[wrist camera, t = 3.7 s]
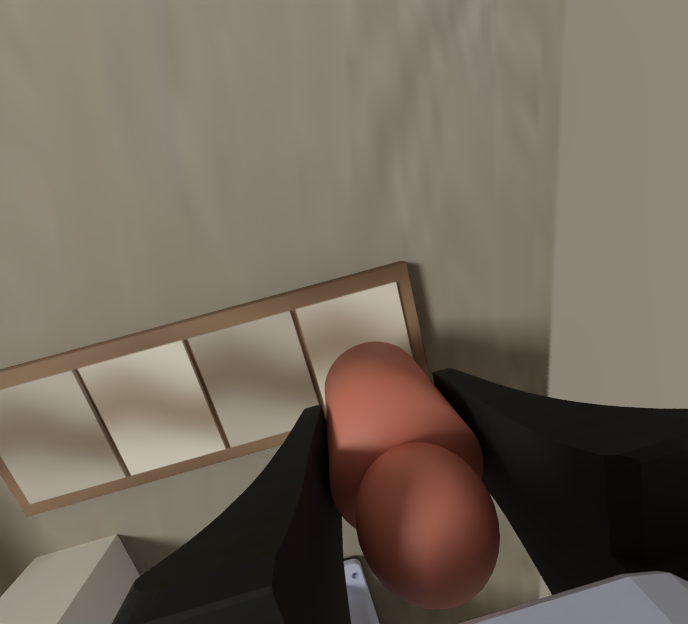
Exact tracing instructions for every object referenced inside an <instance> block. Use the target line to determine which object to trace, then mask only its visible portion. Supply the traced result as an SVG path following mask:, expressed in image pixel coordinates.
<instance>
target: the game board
mask: <svg viewBox="0 0 688 624" xmlns="http://www.w3.org/2000/svg"><path fill="white" fill-rule="evenodd" d="M374 341H378V342H386V343H390V344H393V345H396V346H398V347H400V348H401V349H403V350H404V351H406V352H407V353H408V354H409V355H410V356H411V357H412V358H413V359H414V361H415V362H416V363H417V364H418V366H419V367H420V368H421V369H422V371H423V372H424V373H425V374H426V375H427V377H428V378H429V379H430V375H429V370H428V365H427V360H426V356H425V351H424V346H423V341H422V337H421V332H420V327H419V322H418V317H417V313H416V308H415V303H414V298H413V293H412V289H411V284H410V279H409V274H408V270H407V265H406V262H402V261H399V262H396V263H392V264H388V265H385V266H381V267H377V268H373V269H370V270H366V271H362V272H359V273H355V274H351V275H348V276H344V277H340V278H337V279H333V280H329V281H325V282H322V283H318V284H314V285H311V286H307V287H303V288H300V289H296V290H292V291H289V292H285V293H281V294H277V295H274V296H270V297H266V298H263V299H259V300H255V301H252V302H248V303H244V304H241V305H237V306H233V307H229V308H226V309H222V310H218V311H215V312H211V313H207V314H204V315H200V316H196V317H192V318H189V319H185V320H181V321H178V322H174V323H170V324H167V325H163V326H159V327H156V328H152V329H148V330H144V331H141V332H137V333H133V334H130V335H126V336H122V337H119V338H115V339H111V340H108V341H104V342H100V343H96V344H93V345H89V346H85V347H82V348H78V349H74V350H71V351H67V352H63V353H60V354H56V355H52V356H48V357H45V358H41V359H37V360H34V361H30V362H26V363H23V364H19V365H15V366H12V367H8V368H4V369H0V475H1V476H2V478H3V480H4V481H5V483H6V484H7V486H8V488H9V489H10V491H11V492H12V494H13V496H14V497H15V499H16V500H17V502H18V504H19V505H20V507H21V508H22V510H23V512H24V513H25V515H26V516H27V517H28V516H31V515H35V514H38V513H42V512H46V511H49V510H53V509H56V508H60V507H63V506H67V505H70V504H74V503H77V502H81V501H84V500H88V499H91V498H95V497H99V496H102V495H106V494H109V493H113V492H116V491H120V490H123V489H127V488H130V487H134V486H137V485H141V484H145V483H148V482H152V481H155V480H159V479H162V478H166V477H169V476H173V475H176V474H180V473H183V472H187V471H190V470H194V469H198V468H201V467H205V466H208V465H212V464H215V463H219V462H222V461H226V460H229V459H233V458H236V457H240V456H244V455H247V454H251V453H254V452H258V451H261V450H265V449H268V448H272V447H275V446H279V445H282V444H283V443H284V441H285V440H286V438H287V436H288V435H289V433H290V432H291V430H292V428H293V427H294V425H295V423H296V422H297V420H298V418H299V417H300V415H301V413H302V412H303V410H304V409H305V408H308V407H312V406H315V405H319V404H321V405H322V408H323V411H324V414H325V418H326V406H325V381H326V377H327V374H328V371H329V369H330V368H331V366H332V364H333V363H334V361H335V360H336V359H337V358H338V357H339V356H340V355H341V354H342V353H344V352H345V351H346V350H348V349H350V348H351V347H354V346H356V345H358V344H361V343H366V342H374Z"/></svg>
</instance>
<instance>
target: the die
mask: <svg viewBox="0 0 688 624" xmlns="http://www.w3.org/2000/svg"><path fill="white" fill-rule="evenodd" d="M138 577H140V575H139V573H138V572H137V570H136V568H135V566H134V564H133V562H132V561H131V559H130V557H129V555H128V553H127V552H126V550H125V548H124V546H123V544H122V542H121V541H120V539H119V537H118V535H117V534H116V535H113V536H109V537H106V538H102V539H99V540H95V541H92V542H88V543H85V544H81V545H78V546H74V547H71V548H67V549H64V550H60V551H57V552H53V553H50V554H46V555H43V556H39V557H36V558H35V559H34V560H33V561H32V562H31V563H30V564H29V565H28V567H27V568H26V569H25V570H24V571H23V572H22V573H21V574H20V576H19V577H18V578H17V579H16V580H15V581H14V582H13V584H12V585H11V586H10V587H9V588H8V589H7V590H6V592H5V593H4V594H3V595H2V596H1V597H0V624H112V622H113V620H114V618H115V617H116V615H117V613H118V611H119V609H120V607H121V605H122V603H123V602H124V600H125V598H126V596H127V594H128V592H129V590H130V588H131V587H132V585H133V583H134V581H135V580H136V579H137V578H138Z"/></svg>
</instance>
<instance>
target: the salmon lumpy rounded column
mask: <svg viewBox="0 0 688 624" xmlns="http://www.w3.org/2000/svg"><path fill="white" fill-rule="evenodd" d="M325 406H326V423H327V440H328V457H329V473H330V489H331V494H332V498H333V501H334V503H335V506H336V507H337V509H338V511H339V512H340V514H341V515H342V516H343V518H344V519H345V520H346V521H347V522H348V523H349V524H350V525H352V526H353V527H354V528H356V530H357V535H358V540H359V544H360V547H361V549H362V552H363V555H364V557H365V559H366V561H367V563H368V565H369V566H370V568H371V570H372V572H373V573H374V574H375V576H376V577H377V578H378V579H379V581H380V582H381V583H382V584H383V585H384V586H385V587H386V588H387V589H388V590H389V591H390V592H392V593H393V594H394V595H395V596H397V597H398V598H400V599H402V600H403V601H405V602H407V603H409V604H411V605H414V606H417V607H420V608H423V609H428V610H445V609H451V608H455V607H458V606H460V605H462V604H464V603H466V602H468V601H469V600H471V599H472V598H473V597H475V596H476V595H477V594H478V593H479V592H480V591H481V590H482V589H483V588H484V586H485V585H486V584H487V582H488V580H489V578H490V576H491V575H492V573H493V570H494V568H495V565H496V561H497V557H498V553H499V541H500V533H499V522H498V518H497V514H496V509H495V506H494V503H493V501H492V498H491V496H490V494H489V491H488V490H487V488H486V486H485V484H484V483H483V481H482V475H483V465H484V464H483V455H482V451H481V447H480V445H479V442H478V440H477V438H476V436H475V435H474V433H473V432H472V430H471V429H470V428H469V427H468V426H467V424H466V423H465V422H464V421H463V419H462V418H461V417H460V416H459V415H458V413H457V412H456V411H455V410H454V408H453V407H452V406H451V405H450V404H449V402H448V401H447V400H446V399H445V397H444V396H443V395H442V394H441V393H440V391H439V390H438V389H437V388H436V386H435V385H434V384H433V383H432V382H431V380H430V379H429V378H428V377H427V375H426V374H425V373H424V372H423V371H422V369H421V368H420V367H419V366H418V364H417V363H416V362H415V361H414V359H413V358H412V357H411V356H410V355H409V354H408V353H407V352H406V351H404V350H403V349H401V348H400V347H398V346H396V345H393V344H390V343H386V342H378V341H374V342H366V343H361V344H358V345H356V346H354V347H351V348H350V349H348V350H346V351H345V352H344V353H342V354H341V355H340V356H339V357H338V358H337V359H336V360H335V361H334V363H333V364H332V366H331V368H330V369H329V371H328V374H327V377H326V381H325Z"/></svg>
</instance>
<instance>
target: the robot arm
mask: <svg viewBox="0 0 688 624" xmlns="http://www.w3.org/2000/svg"><path fill="white" fill-rule="evenodd" d="M432 375H433V379H434V384H435V386H436V388H437V389H438V390H439V391H440V393H441V394H442V395H443V396H444V397H445V399H446V400H447V401H448V402H449V404H450V405H451V406H452V407H453V408H454V410H455V411H456V412H457V413H458V415H459V416H460V417H461V418H462V419H463V421H464V422H465V423H466V424H467V426H468V427H469V428H470V429H471V430H472V432H473V433H474V435H475V436H476V438H477V440H478V442H479V445H480V447H481V451H482V455H483V464H484V465H483V475H482V481H483V483H484V484H485V486H486V488H487V490H488V491H489V493H490V494H491V496H492V497H493V498H494V500H495V501H496V502H497V504H498V505H499V507H500V508H501V510H502V511H503V513H504V514H505V516H506V517H507V519H508V521H509V522H510V524H511V526H512V527H513V529H514V531H515V532H516V534H517V536H518V537H519V539H520V541H521V542H522V544H523V546H524V547H525V549H526V551H527V552H528V554H529V556H530V557H531V559H532V561H533V563H534V564H535V566H536V568H537V569H538V571H539V573H540V575H541V576H542V578H543V580H544V581H545V583H546V585H547V586H548V588H549V590H550V592H551V594H552V595H551V596H548V597H545V598H541V599H538V600H535V601H531V602H528V603H525V604H522V605H518V606H515V607H512V608H508V609H505V610H502V611H499V612H495V613H492V614H489V615H485V616H482V617H479V618H475V619H472V620H469V621H466V622H462V623H459V624H688V409H653V408H635V407H618V406H607V405H597V404H589V403H581V402H573V401H567V400H561V399H556V398H551V397H546V396H540V395H536V394H531V393H527V392H523V391H520V390H516V389H512V388H509V387H505V386H502V385H499V384H496V383H493V382H489V381H486V380H484V379H481V378H478V377H475V376H472V375H469V374H466V373H463V372H461V371H458V370H454V369H451V368H447V369H443V370H440V371H436V372H433V373H432ZM112 624H380V623H379V620H378V617H377V613H376V610H375V607H374V604H373V601H372V598H371V595H370V591H369V588H368V585H367V582H366V579H365V576H364V573H363V569H362V566H361V563H360V561H359V560H357V559H349V560H346V561H344V559H343V542H342V515H341V514H340V512H339V511H338V509H337V507H336V506H335V503H334V501H333V498H332V494H331V489H330V473H329V457H328V440H327V423H326V418H325V414H324V411H323V408H322V405H321V404H319V405H315V406H312V407H308V408H305V409H304V410H303V412H302V413H301V415H300V417H299V418H298V420H297V422H296V423H295V425H294V427H293V428H292V430H291V432H290V433H289V435H288V436H287V438H286V440H285V441H284V443H283V444H282V446H281V447H280V448H279V450H278V451H277V452H276V454H275V455H274V457H273V458H272V459H271V461H270V462H269V464H268V465H267V466H266V467H265V469H264V470H263V471H262V472H261V473H260V475H259V476H258V477H257V478H256V479H255V480H254V481H253V483H252V484H251V485H250V486H249V487H248V488H247V489H246V490H245V491H244V492H243V493H242V494H241V495H240V496H239V497H238V498H237V499H236V500H235V501H234V502H233V503H232V504H231V505H230V506H229V507H228V508H227V509H226V510H225V511H224V512H223V513H222V514H220V515H219V516H218V517H217V518H216V519H215V520H214V521H212V522H211V523H210V524H209V525H208V526H207V527H206V528H204V529H203V530H202V531H201V532H199V533H198V534H197V535H196V536H194V537H193V538H192V539H191V540H190V541H188V542H187V543H186V544H184V545H183V546H182V547H180V548H179V549H178V550H176V551H175V552H174V553H172V554H171V555H169V556H168V557H167V558H165V559H164V560H162V561H161V562H160V563H158V564H157V565H155V566H154V567H153V568H151V569H150V570H149V571H147V572H146V573H144V574H143V575H141V576H140V577H138V578H137V579H136V580H135V581H134V583H133V585H132V587H131V588H130V590H129V592H128V594H127V596H126V598H125V600H124V602H123V603H122V605H121V607H120V609H119V611H118V613H117V615H116V617H115V618H114V620H113V622H112Z"/></svg>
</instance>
